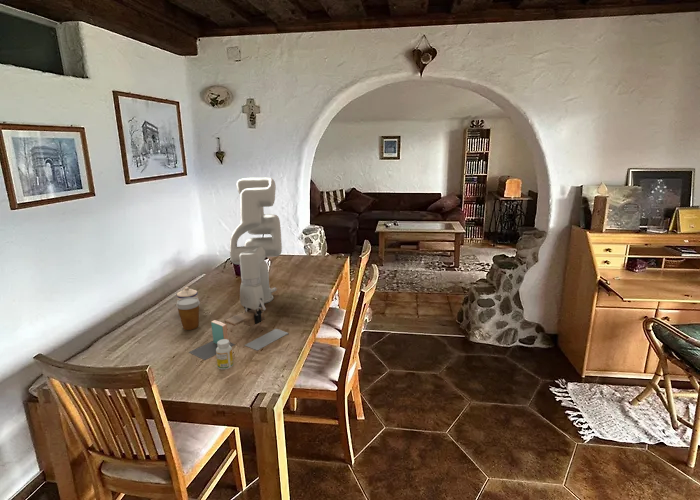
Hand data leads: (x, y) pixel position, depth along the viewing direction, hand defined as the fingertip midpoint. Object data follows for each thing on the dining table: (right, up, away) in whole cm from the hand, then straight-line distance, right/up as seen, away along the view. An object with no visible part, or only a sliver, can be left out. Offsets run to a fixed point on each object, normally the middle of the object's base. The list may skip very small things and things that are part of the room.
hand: (254, 321), depth 173 cm
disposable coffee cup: (-28, -3, +3) cm, 28 cm away
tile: (-10, -7, -13) cm, 18 cm away
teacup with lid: (-35, +2, +21) cm, 40 cm away
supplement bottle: (-4, -11, -28) cm, 30 cm away
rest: (+7, -6, -9) cm, 13 cm away
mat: (-12, -8, -16) cm, 22 cm away
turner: (-2, -1, -3) cm, 4 cm away
